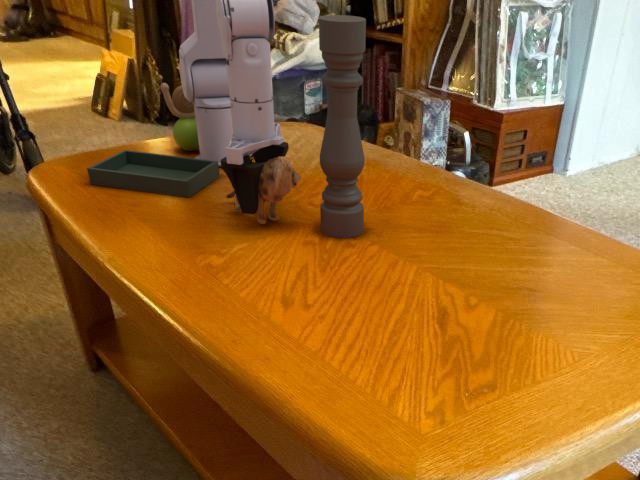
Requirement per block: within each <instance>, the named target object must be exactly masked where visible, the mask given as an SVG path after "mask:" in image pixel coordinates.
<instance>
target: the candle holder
mask: <svg viewBox="0 0 640 480" xmlns="http://www.w3.org/2000/svg"><path fill="white" fill-rule="evenodd" d="M366 33H367V19H366V18H365V17H362V16H355V15H347V14H346V15H344V14H330V15H329V14H328V15H321V16H319V17H318V48H319V49H318V50H319V51H321V58H322V60H323V62H324V66H325V67H326V72H324V73H323V74H322V76H321V82H322V84H323V86H325V89H326V92H327V93H326V97H327V98H326V99H327V101H326V102H327V104H326V105H327V106H326V107H327V109H326V111H327V115H326V121H325V126H324V132H323V137H322V142H321V146H320V152H319V164H320V168H321V171H322V173H323V175H325V176H326V177H325V181H326V183H327V184H326V186H325V188H324V190H323V191H322V193H321V200H322V202H321V203H320V204H319V205H320V207H319V209H320V232H321V233H322V234H323V235H325V236H327V237H331V238H338V239H349V238H355V237H358V236H360V235H362V234H363V233H364V222H365V221H364V220H365V219H364V218H365V207H364V204H363V203H362V202H361V201H362V200H363V194H362V192H361V191H360V188H359V186H358V185H357V183H358V182H359V178H358V177H360V175H361V174H362V172H363V171H364V168H365V164H366V163H365V162H366V158H365V153H364V147H363V142H362V137H361V132H360V131H361V130H360V126H359V120H358V90H359V89H360V86H362V85H363V83H364V78H363V76H362V75H361V74H360V73H359V72H358V70H359V68H360V67H361V66H360V65H361V63H362V62H363V59H364V52H366V42H367V41H366V37H367V36H366V35H367V34H366Z"/></svg>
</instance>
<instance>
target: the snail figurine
mask: <svg viewBox="0 0 640 480" xmlns="http://www.w3.org/2000/svg"><path fill="white" fill-rule="evenodd" d="M158 79H159V81H160V86H159V87H160V90H161V92H162V94H163V98H164V102H165V104H166V106H167V108H168V109H169V111H170V112H171V114H172V115H173V116H174V117H177V118H178V119H177V121H176V122H174V124H173V128H172V136H173V140H174V142H175V143H176V145H177V146H178V147H179V148H180V149H182V150H184V151H186V152H194V151H197V150H199V143H198V135H197V127H196V119H195V111H194V104H193V103H192V102H189V101H188V100H187V99H186V98H185V96H184V93H183V89H182V84H181V85H178V86H177V87H176V88H175V89H174V91H173V92H172V96H171V93H170V86H169V85H168V83H166V82H162V80H163V79H164V78H163V76H162V75H161V74H159V75H158Z"/></svg>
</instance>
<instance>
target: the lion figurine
mask: <svg viewBox="0 0 640 480" xmlns="http://www.w3.org/2000/svg"><path fill="white" fill-rule="evenodd" d="M263 164H264V166H263V169H262V172H261V175H260V180H259V187H258V209H257V219H256V220H257V223H258V224H262V225H264V224H267V220H266V215H265V203H269V206H268V207H269V208H268V218H269V219H270V220H271V221H279V219H280V217H279V216H278V215H276V214H275V212H276V208H277V205H278V203H281V201H283V198H284V197H286V196H287V195H288V194H290V192H291V191H292V189H296V188H297V185H298V183H300V180H301V177H302V176H301V174H300V173H299V172H297V171H296V170H295V168H294V167H292V164H291V159H290V158H288V157H287V156H285V157H281V156H279V157H277V158H273V159H269V160H268V161H267V162H265V163H263ZM225 198H227V199H233V198H235V199H234V201H235V202H234V203H235V204H234V211H236V212H238V211H239V212H241V209H240V206H239V203H238V200H237V197H236V194H235V191H234V190H233V191H232V192H230V193H227V194H226V195H225Z"/></svg>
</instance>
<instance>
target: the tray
mask: <svg viewBox="0 0 640 480" xmlns="http://www.w3.org/2000/svg"><path fill="white" fill-rule="evenodd" d="M86 170H87V175H88V178H89V183H90V185H93V186H100V187H102V186H103V187H109V188H117V189H123V190H129V191H138V192H145V193H152V194H160V195H168V196H174V197H181V198H190V197H192V196H193V195H195V194H197V193H198V192H199V191H200V190H203V188H205V187H207V186H208V185H209V184H211V183H213V182H214V181H216V180H217V179H218V178H220V169H219V166H218V161H211V160H203V159H195V157H187V156H186V157H185V156H178V155H170V154H163V153H155V152H146V151H138V150H129V149H123V150H121V151H119V152H117V153H115V154H113V155H111V156H109V157H107V158H105V159H103V160H101V161H99V162H97V163H95V164H93V165H91V166H89V167H87V168H86Z"/></svg>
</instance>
